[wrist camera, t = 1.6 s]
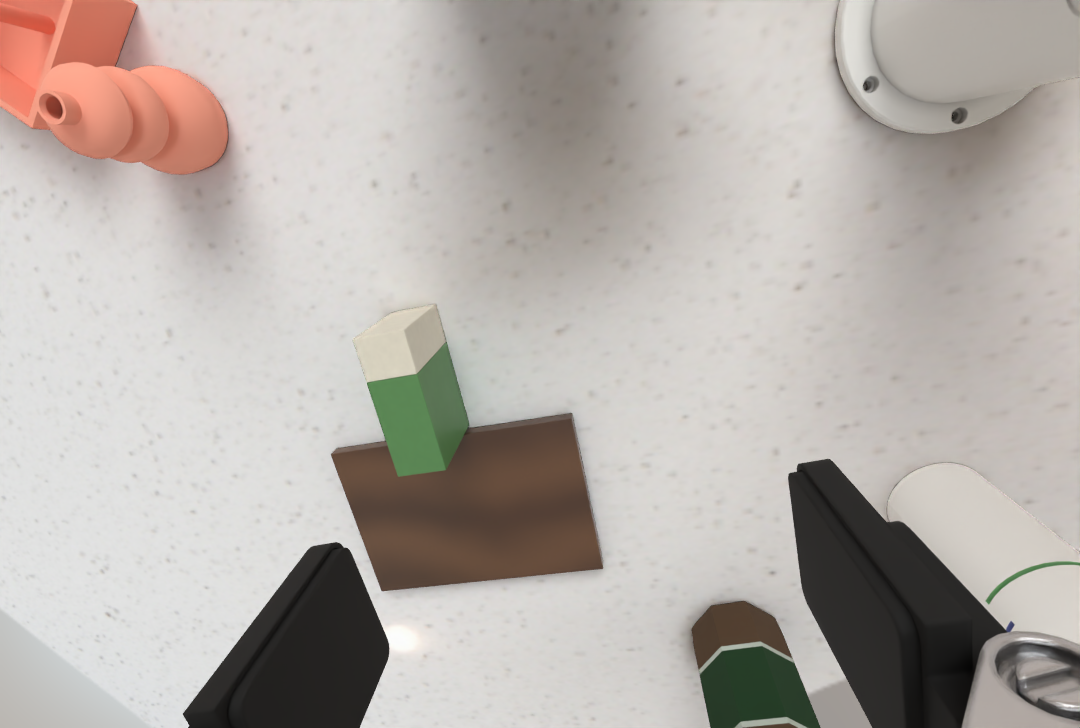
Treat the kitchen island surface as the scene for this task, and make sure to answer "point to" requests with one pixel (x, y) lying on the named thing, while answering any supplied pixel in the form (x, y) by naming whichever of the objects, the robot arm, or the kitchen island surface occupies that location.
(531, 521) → the cutting board
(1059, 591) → the cylindrical container
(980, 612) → the robot arm
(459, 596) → the kitchen island surface
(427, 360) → the block
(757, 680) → the beer bottle
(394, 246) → the kitchen island surface
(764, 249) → the kitchen island surface
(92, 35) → the coral tray and vase
